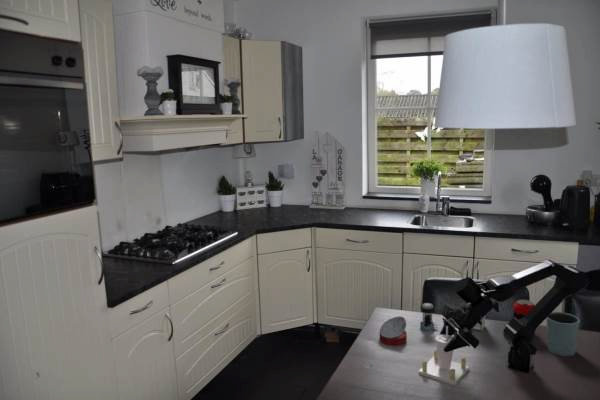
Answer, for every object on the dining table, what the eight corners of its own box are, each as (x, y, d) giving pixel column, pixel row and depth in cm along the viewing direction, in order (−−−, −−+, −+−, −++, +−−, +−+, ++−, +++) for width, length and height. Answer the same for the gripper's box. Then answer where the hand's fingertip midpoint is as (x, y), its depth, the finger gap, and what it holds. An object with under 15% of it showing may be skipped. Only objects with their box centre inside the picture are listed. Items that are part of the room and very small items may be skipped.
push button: (435, 326, 196) (436, 301, 194) (439, 332, 191) (440, 307, 189) (418, 326, 196) (419, 302, 194) (422, 332, 191) (422, 307, 189)
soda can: (513, 335, 186) (514, 305, 184) (511, 327, 193) (513, 297, 191) (535, 338, 183) (537, 307, 181) (533, 329, 190) (534, 299, 188)
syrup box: (485, 325, 195) (486, 290, 192) (481, 331, 190) (483, 295, 188) (470, 323, 198) (471, 287, 195) (466, 328, 193) (467, 292, 191)
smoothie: (449, 373, 157) (450, 332, 155) (430, 367, 162) (431, 326, 159) (458, 365, 162) (459, 325, 159) (439, 359, 166) (440, 319, 164)
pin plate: (469, 369, 163) (469, 357, 162) (455, 385, 154) (455, 373, 153) (433, 358, 170) (434, 347, 170) (418, 373, 161) (418, 362, 160)
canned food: (405, 356, 183) (409, 339, 176) (377, 351, 184) (380, 334, 178) (405, 330, 191) (409, 313, 185) (379, 326, 193) (381, 310, 187)
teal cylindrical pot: (579, 358, 168) (582, 325, 166) (546, 354, 171) (548, 321, 169) (574, 345, 177) (576, 313, 175) (542, 341, 181) (544, 310, 178)
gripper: (447, 285, 167) (414, 319, 168) (470, 307, 149) (433, 344, 150) (469, 306, 169) (437, 339, 170) (495, 330, 151) (458, 366, 152)
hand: (440, 346), depth 160 cm, fingers closed on smoothie, 6 cm apart
